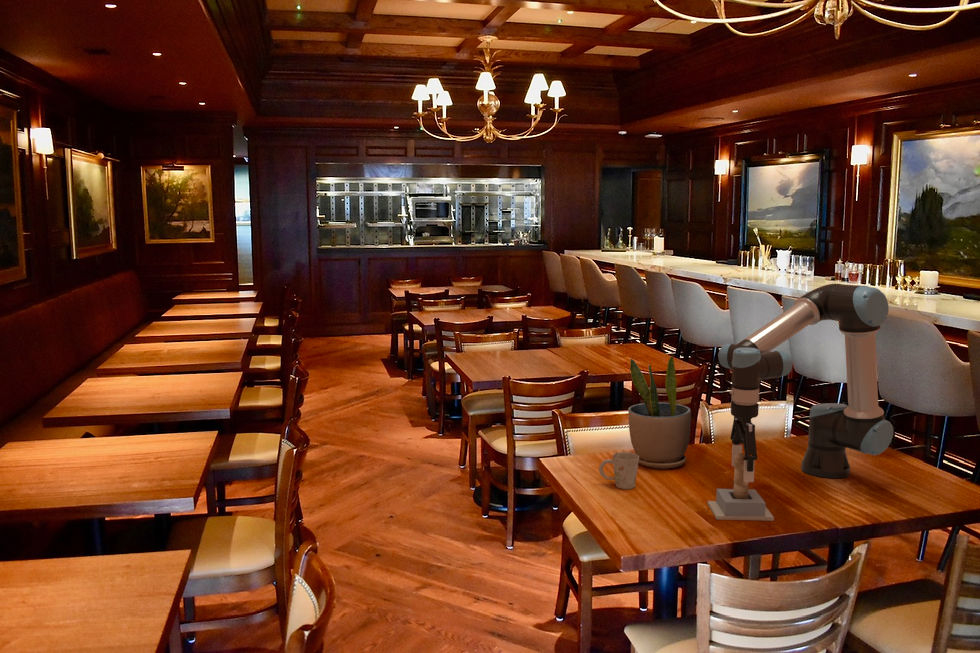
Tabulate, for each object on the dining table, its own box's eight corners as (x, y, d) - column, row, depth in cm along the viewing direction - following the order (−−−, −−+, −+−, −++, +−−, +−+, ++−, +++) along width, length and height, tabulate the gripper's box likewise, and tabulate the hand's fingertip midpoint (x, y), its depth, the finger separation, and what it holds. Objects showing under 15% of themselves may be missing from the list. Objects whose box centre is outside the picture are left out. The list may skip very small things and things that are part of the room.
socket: (762, 505, 237) (762, 489, 236) (773, 520, 225) (774, 503, 224) (707, 504, 238) (708, 488, 237) (716, 519, 226) (717, 502, 225)
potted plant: (614, 461, 278) (616, 349, 272) (653, 450, 292) (656, 342, 286) (663, 476, 262) (667, 357, 256) (701, 463, 276) (706, 350, 270)
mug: (638, 491, 249) (638, 460, 247) (597, 488, 251) (598, 458, 250) (638, 482, 257) (639, 452, 255) (599, 480, 259) (600, 450, 258)
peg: (745, 506, 233) (747, 453, 231) (748, 511, 229) (751, 458, 227) (731, 506, 233) (733, 453, 231) (734, 511, 229) (736, 457, 227)
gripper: (721, 392, 239) (719, 459, 242) (742, 413, 214) (740, 488, 218) (746, 392, 239) (744, 460, 242) (770, 413, 214) (768, 488, 217)
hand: (742, 473), depth 230 cm, fingers open, 13 cm apart
